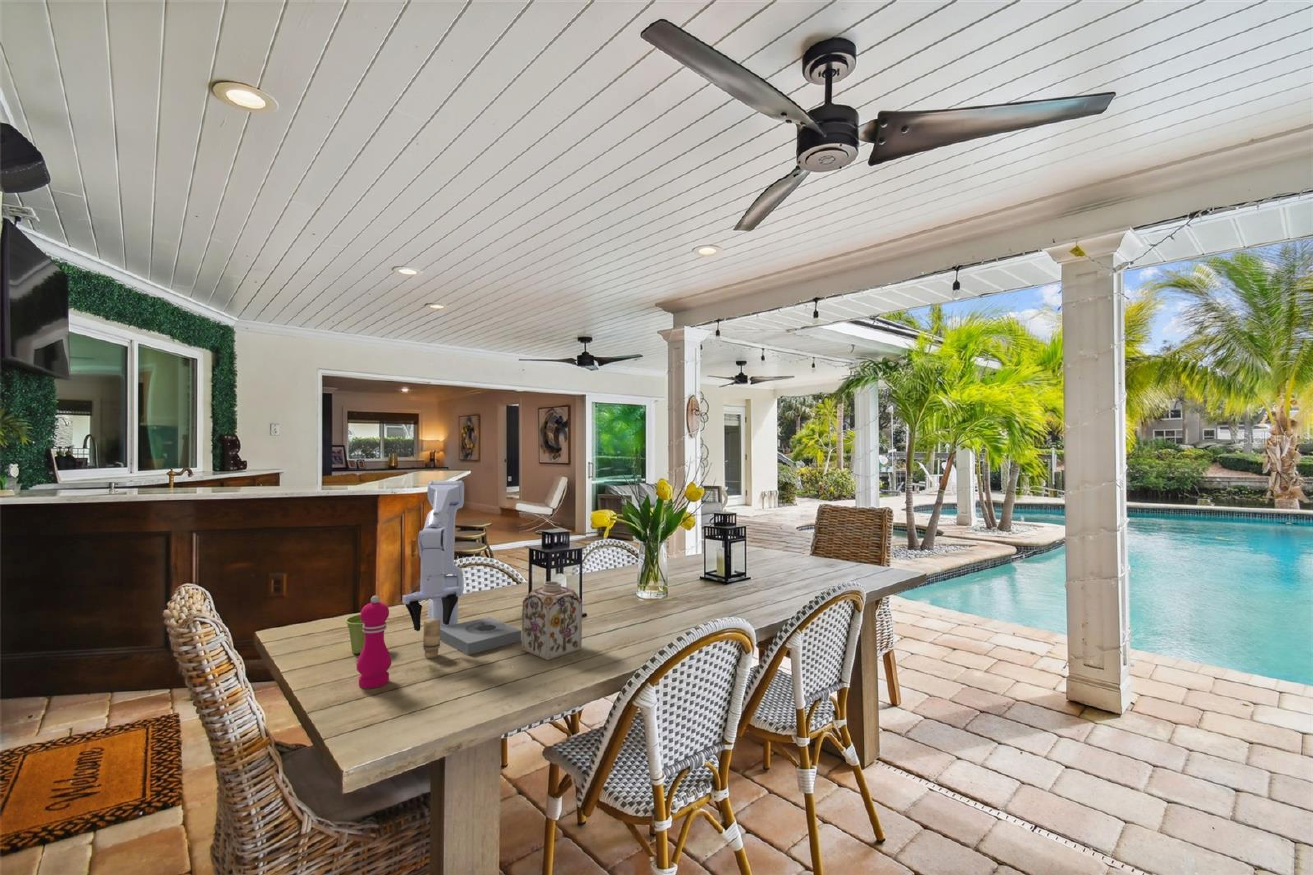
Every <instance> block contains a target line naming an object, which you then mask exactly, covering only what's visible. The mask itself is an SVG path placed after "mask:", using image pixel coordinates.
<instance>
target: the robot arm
mask: <svg viewBox="0 0 1313 875" xmlns="http://www.w3.org/2000/svg"><path fill="white" fill-rule="evenodd" d="M427 500H428V501H429V504H430V505H431V508H432V509H431V510H430V511H429V512H428V513H427V515H426V519H425V521H424V522H425V523H424V526H423V529H422V530H419V532H418V538H417V544H418V552H419V554H418V556H419V558H420V586H419V587H420V588H419V589H420V591H416V592H413V593H408V594H404V595H402V598H401V599H402V604H404V605H405V607H406V609H407V611H408V613H409V615H410V617H411V621H412V625H413V630H414V631H416V632H420V631H421V615H422V609H423V605H422V604H420V602H423V601H428V600H429V603H428V606H427V620H429V619H439V620H440V628H441V627H445V626H450V625H454V624H459V597H461V596H463V594H464V589H465V588H464V586H465V584H464V582H465V581H464V580H465V579H464V571H463V570H462V569H463V568H461V567H460V566H458V565H456V564H455V543H456V542H455V541H456V516H457V512H458V510H460V509H462V508H463V506H464V503H465V483H464V481H463V480H430V481H429V482H428V484H427Z"/></svg>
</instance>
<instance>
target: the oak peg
mask: <svg viewBox="0 0 1313 875" xmlns="http://www.w3.org/2000/svg"><path fill="white" fill-rule="evenodd" d="M422 648H423V651H424V658H425V659H434V658H437V657H438V656H439V649H440V648H441V640H440V620H439V619H429V620H428V619H425V620H423V644H422Z"/></svg>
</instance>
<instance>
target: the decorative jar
mask: <svg viewBox="0 0 1313 875" xmlns="http://www.w3.org/2000/svg"><path fill="white" fill-rule="evenodd" d="M582 605H583V601H582V599H581V597H579V595H578V594H577V592H576V591H575V590H574V589H573V588H570V587H567V586H564V585H563V586H562V583H561V581H555V580H554V581H552V580H551V581H545V582H543V585H542V586H541V587H537V588H534V589H532V590H531V591H530V592H529V593H528V594H527V595H526V596H525V598H524V599H523V600H522V606H521V608H522V614H521V617H522V618H521V648H522V649H521V650H522V651H524V652H527V653H528V654H531V655H534V656H535V657H538V658H541V659H544V660H546V661H551V660H553V659H556V658H560V657H562V656H566V655H569V654H572V653H575V652H578V650H579V651H581V650H582V649H583V648H582V641H583V640H582V639H583V614H582V613H583V606H582Z"/></svg>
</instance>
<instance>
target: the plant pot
mask: <svg viewBox="0 0 1313 875" xmlns="http://www.w3.org/2000/svg"><path fill="white" fill-rule="evenodd" d="M360 614H361V613H360ZM360 614H355V615H352V616H349V617H347V618H346V619H345V623H346V625H347V628H348V633H349V638H350V647H351V652H352V654H356V655H358V654H361V652H362V649H363V647H364V643H365V633H364V632H363V631H362V630H363V625H364V623H363V622H362V620H361V618H360Z"/></svg>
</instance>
